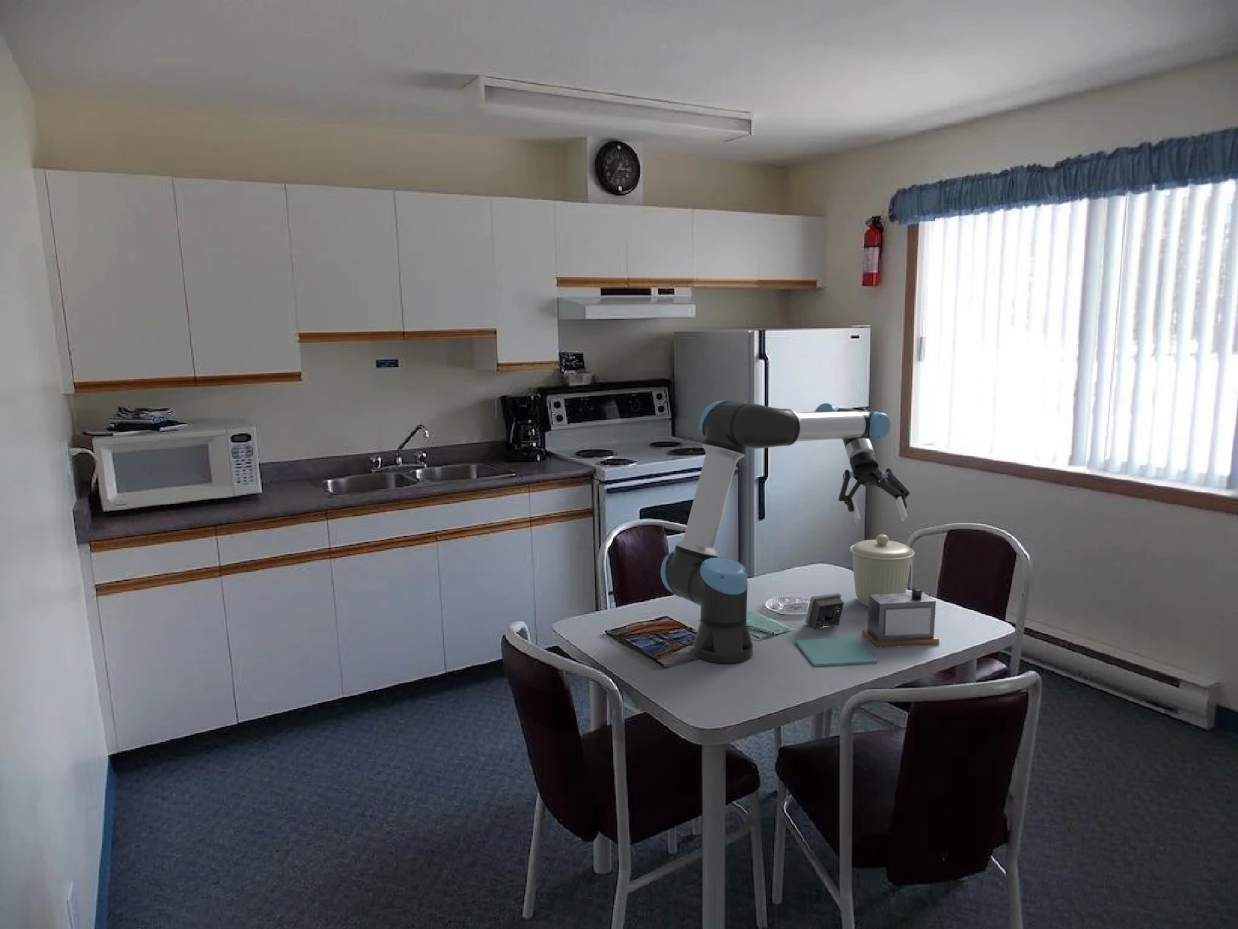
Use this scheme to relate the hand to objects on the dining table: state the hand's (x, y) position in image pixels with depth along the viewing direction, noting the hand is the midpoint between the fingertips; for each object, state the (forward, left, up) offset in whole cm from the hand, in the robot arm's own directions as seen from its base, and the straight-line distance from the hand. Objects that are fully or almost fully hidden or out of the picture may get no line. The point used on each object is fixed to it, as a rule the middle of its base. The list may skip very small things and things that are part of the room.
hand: (881, 519), depth 223 cm
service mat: (-21, -23, -28) cm, 42 cm away
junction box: (-1, -17, -28) cm, 33 cm away
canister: (+5, +10, -29) cm, 31 cm away
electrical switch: (-17, -5, -29) cm, 34 cm away
